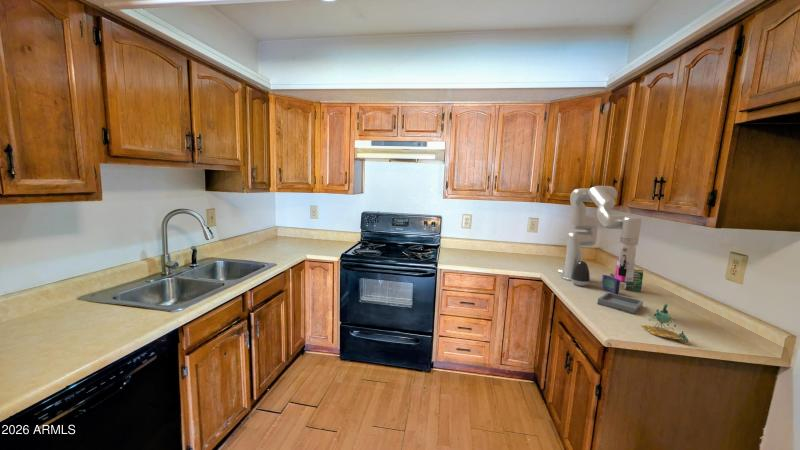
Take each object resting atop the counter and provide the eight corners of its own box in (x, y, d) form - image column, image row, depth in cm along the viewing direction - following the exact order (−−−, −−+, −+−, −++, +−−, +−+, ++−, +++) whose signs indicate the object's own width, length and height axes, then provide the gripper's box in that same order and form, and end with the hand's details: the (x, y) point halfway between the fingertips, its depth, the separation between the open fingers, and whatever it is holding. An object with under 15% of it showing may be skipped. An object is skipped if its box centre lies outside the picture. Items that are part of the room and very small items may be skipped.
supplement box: (625, 279, 163) (628, 258, 161) (632, 282, 157) (636, 261, 155) (613, 278, 163) (616, 257, 161) (621, 282, 157) (624, 260, 156)
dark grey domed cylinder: (586, 282, 197) (588, 259, 195) (591, 288, 188) (594, 264, 185) (568, 281, 200) (571, 258, 198) (572, 286, 190) (575, 262, 188)
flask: (599, 289, 186) (602, 270, 185) (602, 288, 188) (605, 270, 186) (616, 295, 177) (619, 275, 176) (620, 294, 179) (622, 275, 177)
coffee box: (624, 290, 186) (627, 269, 184) (623, 288, 189) (626, 267, 187) (641, 292, 183) (644, 271, 181) (639, 291, 185) (642, 269, 184)
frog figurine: (677, 347, 121) (678, 310, 121) (633, 330, 139) (634, 298, 138) (696, 345, 123) (697, 308, 123) (650, 328, 141) (651, 296, 140)
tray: (597, 304, 163) (598, 298, 162) (607, 297, 173) (607, 292, 173) (634, 314, 151) (635, 308, 150) (642, 306, 161) (643, 301, 161)
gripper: (633, 244, 149) (628, 279, 151) (642, 240, 160) (637, 273, 163) (615, 241, 154) (610, 275, 157) (624, 238, 166) (620, 269, 168)
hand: (624, 274), depth 160 cm, fingers closed on supplement box, 8 cm apart
